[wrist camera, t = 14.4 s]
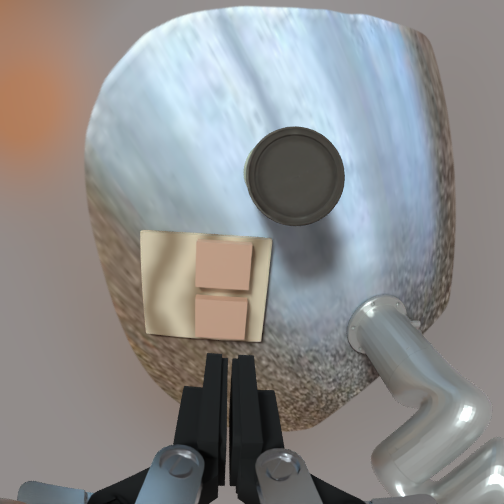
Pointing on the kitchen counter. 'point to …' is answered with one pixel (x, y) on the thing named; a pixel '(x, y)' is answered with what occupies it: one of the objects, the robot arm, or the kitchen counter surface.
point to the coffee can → (294, 176)
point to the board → (183, 283)
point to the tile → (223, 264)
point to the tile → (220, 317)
